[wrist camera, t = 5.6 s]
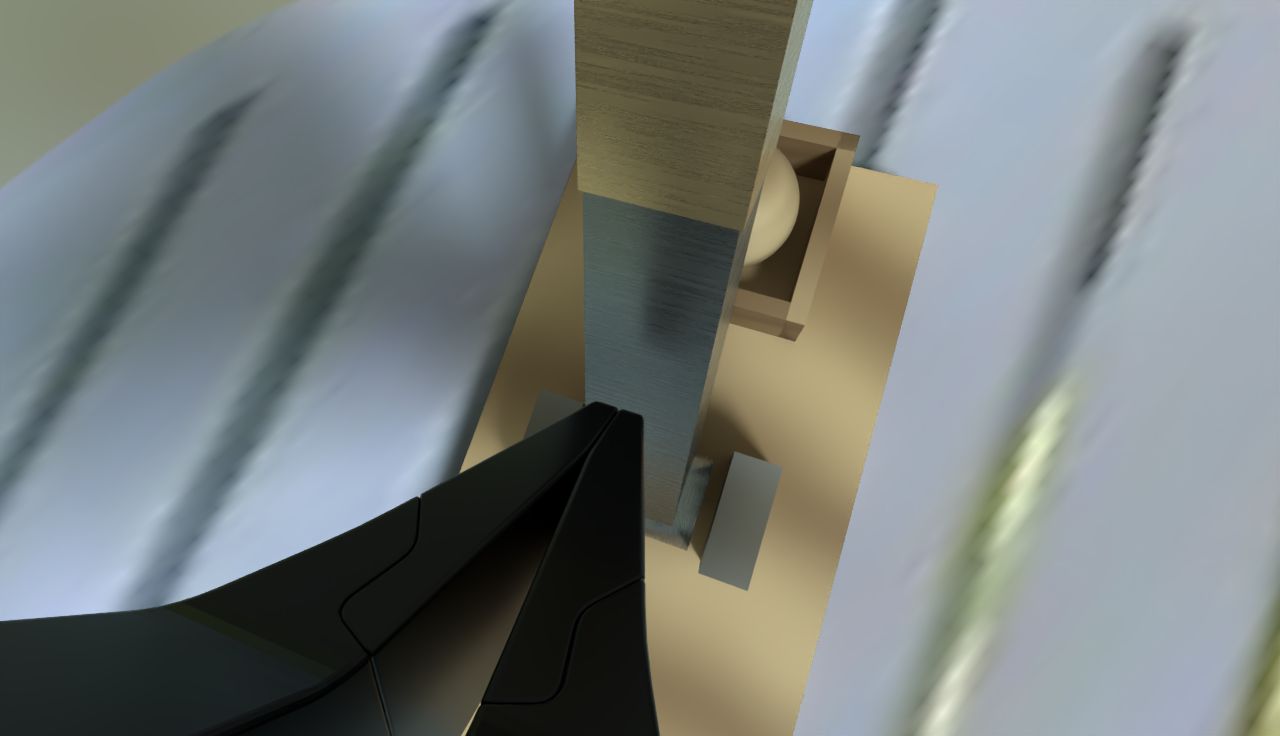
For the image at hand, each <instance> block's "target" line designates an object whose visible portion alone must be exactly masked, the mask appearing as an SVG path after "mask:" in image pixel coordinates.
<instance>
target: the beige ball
mask: <svg viewBox="0 0 1280 736" xmlns="http://www.w3.org/2000/svg"><path fill="white" fill-rule="evenodd" d="M799 203H800V193H799V186H798V181H797V178H796V174H795V172H794V170H793V168H792V166H791V164H790V162H789V161H788V159H787V158H786V157H785V155H784V154H783V153H782V152H781V151H780V150H779V149H778V148H777V147H776V150H775V153H774V156H773V158H772V161H771V164H770V166H769V169H768V171H767V174H766V176H765V180H764V184H763V188H762V192H761V196H760V200H759V204H758V208H757V212H756V216H755V221H754V225H753V229H752V233H751V237H750V241H749V245H748V249H747V253H746V257H745V261H744V265H743V268H746V267H750V266H752V265H755V264H757V263H760V262H762V261H763V260H765V259H767V258H768V257H770V256H771V255H772V254H774V253H775V252H776V251H777V250H778V249H779V248H780V247H781V246H782V245H783V243H784V242H785V241H786V240H787V238H788V236H789V235H790V233H791V231H792V229H793V227H794V225H795V222H796V219H797V215H798V211H799Z"/></svg>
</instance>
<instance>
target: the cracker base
mask: <svg viewBox="0 0 1280 736" xmlns="http://www.w3.org/2000/svg"><path fill="white" fill-rule="evenodd" d="M859 138H860V136H859V135H854V134H849V133H845V132H840V131H835V130H830V129H826V128H821V127H816V126H812V125H807V124H802V123H797V122H793V121H788V120H783V123H782V127H781V130H780V134H779V138H778V142H777V146H776V147H777V148H778V149H779V150H780V151H781V152H782V153H783V154H784V155H785V157H786V158H787V159H788V161H789V162H790V164H791V166H792V168H793V170H794V172H795V174H796V178H797V181H798V186H799V193H800V203H799V211H798V215H797V219H796V222H795V225H794V227H793V229H792V231H791V233H790V235H789V236H788V238H787V240H786V241H785V242H784V243H783V245H782V246H781V247H780V248H779V249H778V250H777V251H776V252H775V253H774V254H772V255H771V256H770V257H768V258H767V259H765V260H763V261H762V262H760V263H757V264H755V265H752V266H750V267H746V268H743V269H742V273H741V277H740V281H739V287H738V291H737V295H736V299H735V303H734V307H733V311H732V315H731V319H730V323H729V327H728V331H727V334H726V338H725V342H724V346H723V350H722V354H721V358H720V362H719V366H718V370H717V374H716V378H715V382H714V386H713V390H712V394H711V398H710V402H709V406H708V410H707V414H706V418H705V422H704V426H703V430H702V434H701V439H700V443H699V447H698V451H697V454H700V455H703V456H706V457H710V458H713V459H715V462H714V465H713V469H712V472H711V475H710V479H709V482H708V485H707V489H706V492H705V495H704V498H703V502H702V505H701V508H700V512H699V515H698V518H697V521H696V525H695V528H694V531H693V534H692V538H691V541H690V544H689V547H688V550H687V551H685V550H683V549H680V548H677V547H674V546H671V545H669V544H666V543H663V542H660V541H658V540H655V539H652V538H649V537H646V536H645V581H644V582H645V584H646V625H647V643H648V652H649V661H650V669H651V677H652V685H653V692H654V698H655V705H656V711H657V718H658V725H659V731H660V736H793V732H794V729H795V725H796V721H797V717H798V713H799V710H800V706H801V702H802V698H803V695H804V691H805V687H806V683H807V679H808V676H809V672H810V668H811V664H812V661H813V657H814V653H815V649H816V645H817V642H818V638H819V634H820V630H821V626H822V623H823V619H824V615H825V611H826V608H827V604H828V600H829V596H830V592H831V589H832V585H833V581H834V577H835V574H836V570H837V566H838V562H839V558H840V555H841V551H842V547H843V543H844V540H845V536H846V532H847V528H848V524H849V521H850V517H851V513H852V509H853V506H854V502H855V498H856V494H857V490H858V487H859V483H860V479H861V475H862V472H863V468H864V464H865V460H866V456H867V453H868V449H869V445H870V441H871V438H872V434H873V430H874V426H875V422H876V419H877V415H878V411H879V407H880V404H881V400H882V396H883V392H884V388H885V385H886V381H887V377H888V373H889V370H890V366H891V362H892V358H893V354H894V351H895V347H896V343H897V339H898V336H899V332H900V328H901V324H902V320H903V317H904V313H905V309H906V305H907V302H908V298H909V294H910V290H911V286H912V283H913V279H914V275H915V271H916V268H917V264H918V260H919V256H920V252H921V249H922V245H923V241H924V237H925V234H926V230H927V226H928V222H929V218H930V215H931V211H932V207H933V203H934V200H935V196H936V192H937V188H938V185H936V184H931V183H927V182H922V181H918V180H913V179H909V178H904V177H900V176H895V175H891V174H886V173H882V172H877V171H873V170H868V169H864V168H859V167H855V166H851V165H852V162H853V159H854V155H855V152H856V148H857V145H858V141H859ZM584 406H585V330H584V251H583V191H579V190H578V173H577V158H576V161H575V163H574V166H573V169H572V172H571V174H570V177H569V180H568V182H567V185H566V188H565V190H564V193H563V196H562V198H561V201H560V204H559V207H558V209H557V212H556V215H555V217H554V220H553V223H552V225H551V228H550V231H549V233H548V236H547V239H546V242H545V244H544V247H543V250H542V252H541V255H540V258H539V260H538V263H537V266H536V268H535V271H534V274H533V277H532V279H531V282H530V285H529V287H528V290H527V293H526V295H525V298H524V301H523V303H522V306H521V309H520V312H519V314H518V317H517V320H516V322H515V325H514V328H513V330H512V333H511V336H510V338H509V341H508V344H507V347H506V349H505V352H504V355H503V357H502V360H501V363H500V365H499V368H498V371H497V373H496V376H495V379H494V382H493V384H492V387H491V390H490V392H489V395H488V398H487V400H486V403H485V406H484V408H483V411H482V414H481V417H480V419H479V422H478V425H477V427H476V430H475V433H474V435H473V438H472V441H471V443H470V446H469V449H468V452H467V454H466V457H465V460H464V462H463V465H462V468H461V470H460V473H461V472H463V471H465V470H467V469H469V468H471V467H472V466H474V465H476V464H478V463H480V462H482V461H484V460H485V459H487V458H489V457H491V456H493V455H495V454H497V453H498V452H500V451H502V450H504V449H506V448H508V447H510V446H512V445H513V444H515V443H517V442H519V441H521V440H523V439H525V438H526V437H528V436H530V435H532V434H534V433H536V432H538V431H540V430H541V429H543V428H545V427H547V426H549V425H551V424H553V423H554V422H556V421H558V420H560V419H562V418H564V417H566V416H568V415H569V414H571V413H573V412H575V411H577V410H579V409H581V408H582V407H584ZM479 706H481V703H480V704H479ZM479 706H478V707H479ZM477 709H478V708H477ZM477 709H476V711H475V713H474V715H473V716H472V718H471V720H470V721H469V723H468V725H467V727H466V728H465V730H464V732H463V733H462V735H461V736H465V735H466V733H467V731H468V729H469V727H470V725H471V723H472V720H473V718H474V716H475V714H476V712H477Z"/></svg>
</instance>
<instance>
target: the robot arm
mask: <svg viewBox="0 0 1280 736" xmlns="http://www.w3.org/2000/svg"><path fill="white" fill-rule="evenodd" d="M644 581H645V488H644V418H643V416H642V415H640V414H637V413H634V412H631V411H628V410H625V409H622V410H618V408H617V407H615V406H612V405H609V404H606V403H603V402H599V401H595V402H592V403H590V404H588V405H586V406H584V407H582V408H581V409H579V410H577V411H575V412H573V413H571V414H569V415H568V416H566V417H564V418H562V419H560V420H558V421H556V422H554V423H553V424H551V425H549V426H547V427H545V428H543V429H541V430H540V431H538V432H536V433H534V434H532V435H530V436H528V437H526V438H525V439H523V440H521V441H519V442H517V443H515V444H513V445H512V446H510V447H508V448H506V449H504V450H502V451H500V452H498V453H497V454H495V455H493V456H491V457H489V458H487V459H485V460H484V461H482V462H480V463H478V464H476V465H474V466H472V467H471V468H469V469H467V470H465V471H463V472H461V473H459V474H457V475H456V476H454V477H452V478H450V479H448V480H446V481H444V482H443V483H441V484H439V485H437V486H435V487H433V488H431V489H429V490H428V491H426V492H424V493H422V494H421V496H420V498H419V497H414V498H412V499H410V500H409V501H407V502H405V503H403V504H401V505H399V506H397V507H395V508H394V509H392V510H390V511H388V512H386V513H384V514H382V515H380V516H378V517H376V518H374V519H372V520H370V521H368V522H366V523H364V524H362V525H360V526H358V527H356V528H354V529H351V530H349V531H347V532H345V533H343V534H340V535H338V536H336V537H334V538H331V539H329V540H327V541H325V542H323V543H320V544H318V545H316V546H314V547H311V548H309V549H307V550H304V551H302V552H300V553H297V554H295V555H293V556H290V557H288V558H286V559H283V560H281V561H279V562H276V563H274V564H272V565H269V566H267V567H265V568H262V569H260V570H258V571H255V572H253V573H251V574H248V575H246V576H244V577H241V578H239V579H237V580H234V581H232V582H230V583H227V584H225V585H223V586H220V587H218V588H216V589H213V590H210V591H208V592H205V593H203V594H200V595H197V596H194V597H191V598H188V599H185V600H182V601H179V602H175V603H171V604H167V605H163V606H158V607H152V608H147V609H140V610H131V611H120V612H108V613H95V614H83V615H71V616H58V617H46V618H34V619H21V620H9V621H0V736H461V735H462V733H463V732H464V730H465V728H466V727H467V725H468V723H469V721H470V720H471V718H472V716H473V715H474V713H475V711H476V709H477V708H478V709H477V712H476V714H475V716H474V718H473V720H472V723H471V725H470V727H469V729H468V731H467V733H466V735H465V736H660V731H659V725H658V718H657V711H656V705H655V698H654V692H653V685H652V677H651V669H650V661H649V652H648V643H647V625H646V584H645V582H644ZM480 703H481V706H479V704H480ZM478 706H479V707H478Z"/></svg>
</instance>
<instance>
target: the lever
mask: <svg viewBox="0 0 1280 736" xmlns="http://www.w3.org/2000/svg"><path fill="white" fill-rule="evenodd" d="M812 4H813V0H574V21H575V71H576V122H577V173H578V190H579V191H583V251H584V330H585V406H586V405H588V404H590V403H592V402H595V401H599V402H603V403H606V404H609V405H612V406H615V407H617V408H618V410H622V409H625V410H628V411H631V412H634V413H637V414H640V415H642V416H643V418H644V488H645V536H646V537H649V538H652V539H655V540H658V541H660V542H663V543H666V544H669V545H671V546H674V547H677V548H680V549H683V550H685V551H687V550H688V547H689V544H690V541H691V538H692V534H693V531H694V528H695V525H696V521H697V518H698V515H699V512H700V508H701V505H702V502H703V498H704V495H705V492H706V489H707V485H708V482H709V479H710V475H711V472H712V469H713V465H714V462H715V459H713V458H710V457H706V456H703V455H700V454H697V451H698V447H699V443H700V439H701V434H702V430H703V426H704V422H705V418H706V414H707V410H708V406H709V402H710V398H711V394H712V390H713V386H714V382H715V378H716V374H717V370H718V366H719V362H720V358H721V354H722V350H723V346H724V342H725V338H726V334H727V331H728V327H729V323H730V319H731V315H732V311H733V307H734V303H735V299H736V295H737V291H738V287H739V281H740V277H741V273H742V269H743V265H744V261H745V257H746V253H747V249H748V245H749V241H750V237H751V233H752V229H753V225H754V221H755V216H756V212H757V208H758V204H759V200H760V196H761V192H762V188H763V184H764V180H765V176H766V174H767V171H768V169H769V166H770V164H771V161H772V158H773V156H774V153H775V150H776V146H777V142H778V138H779V134H780V130H781V127H782V123H783V119H784V115H785V111H786V107H787V103H788V99H789V95H790V91H791V87H792V83H793V79H794V75H795V71H796V67H797V63H798V59H799V55H800V51H801V47H802V43H803V39H804V36H805V32H806V28H807V24H808V20H809V16H810V12H811V8H812Z"/></svg>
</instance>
